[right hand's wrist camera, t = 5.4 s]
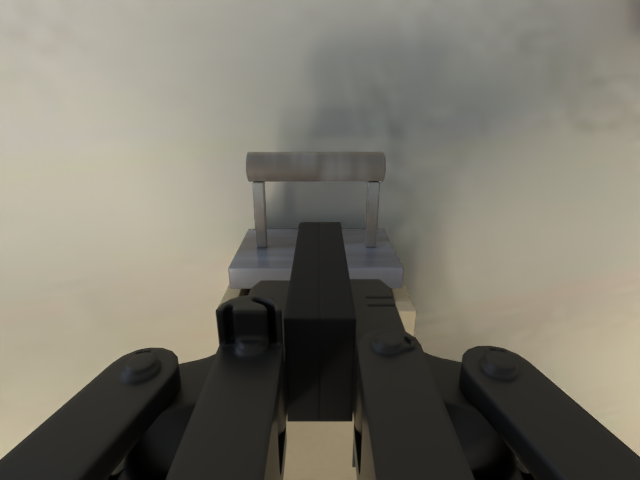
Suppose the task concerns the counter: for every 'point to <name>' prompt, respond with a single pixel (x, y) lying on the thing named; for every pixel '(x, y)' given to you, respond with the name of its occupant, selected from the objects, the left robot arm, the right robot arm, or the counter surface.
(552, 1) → the counter surface
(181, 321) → the counter surface
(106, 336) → the counter surface
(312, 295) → the right robot arm
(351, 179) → the drawer
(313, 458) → the cabinet
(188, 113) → the counter surface
